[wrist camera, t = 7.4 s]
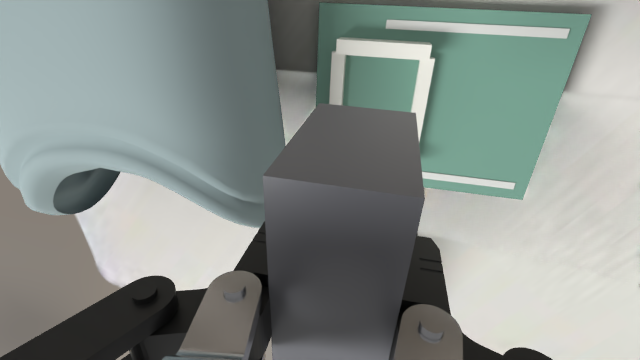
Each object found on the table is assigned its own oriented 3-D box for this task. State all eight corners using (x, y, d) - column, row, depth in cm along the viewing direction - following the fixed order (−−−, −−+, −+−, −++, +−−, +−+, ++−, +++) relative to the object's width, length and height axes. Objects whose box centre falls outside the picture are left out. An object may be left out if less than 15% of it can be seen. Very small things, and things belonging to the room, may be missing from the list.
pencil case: (286, -39, 25) (196, -76, 14) (308, 186, 33) (263, 277, 22) (48, -12, 30) (-163, -23, 18) (120, 180, 38) (5, 252, 27)
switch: (424, 198, 6) (375, 420, 10) (416, 112, 10) (383, 288, 14) (262, 175, 6) (274, 394, 10) (319, 103, 11) (312, 275, 14)
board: (582, 14, 23) (608, 15, 20) (517, 192, 29) (530, 212, 26) (322, 2, 26) (313, 1, 23) (316, 167, 32) (308, 182, 29)
